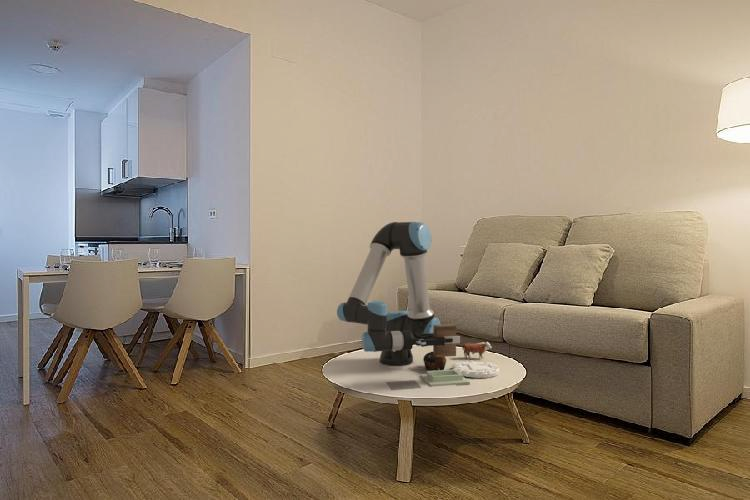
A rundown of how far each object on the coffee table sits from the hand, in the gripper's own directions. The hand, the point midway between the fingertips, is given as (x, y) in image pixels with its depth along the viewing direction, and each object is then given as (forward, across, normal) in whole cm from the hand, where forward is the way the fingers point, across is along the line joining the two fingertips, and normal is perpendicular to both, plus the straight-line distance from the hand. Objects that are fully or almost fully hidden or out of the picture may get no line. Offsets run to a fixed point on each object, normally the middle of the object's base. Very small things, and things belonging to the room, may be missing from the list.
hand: (457, 338), depth 209 cm
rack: (-5, 0, -17) cm, 18 cm away
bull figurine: (+21, -29, -17) cm, 40 cm away
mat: (-23, +3, -17) cm, 29 cm away
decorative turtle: (-4, -16, -17) cm, 24 cm away
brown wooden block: (-5, 0, -7) cm, 9 cm away
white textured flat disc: (+12, -9, -18) cm, 23 cm away
